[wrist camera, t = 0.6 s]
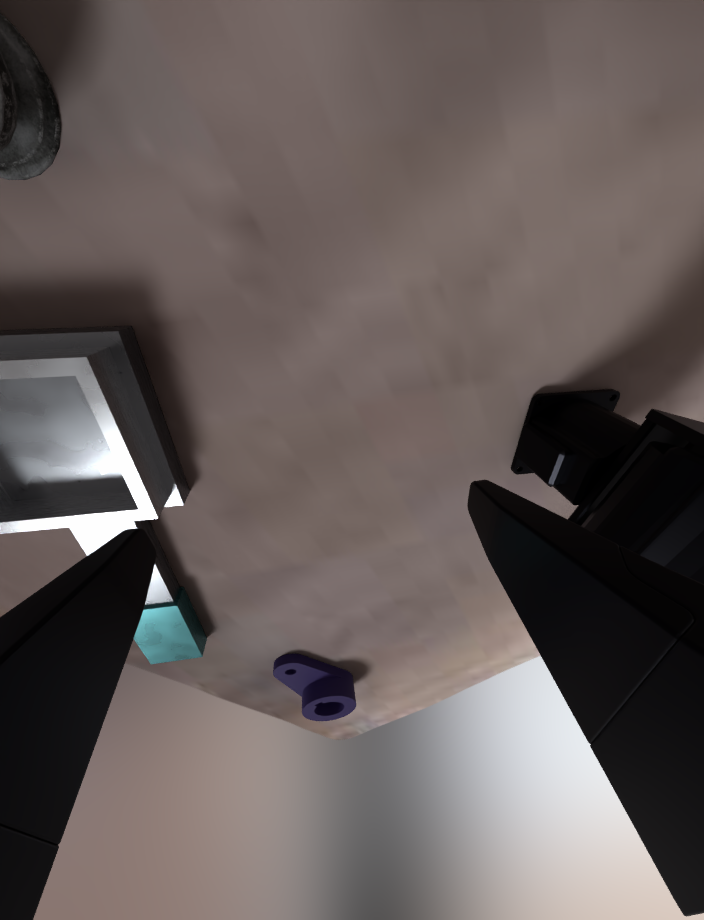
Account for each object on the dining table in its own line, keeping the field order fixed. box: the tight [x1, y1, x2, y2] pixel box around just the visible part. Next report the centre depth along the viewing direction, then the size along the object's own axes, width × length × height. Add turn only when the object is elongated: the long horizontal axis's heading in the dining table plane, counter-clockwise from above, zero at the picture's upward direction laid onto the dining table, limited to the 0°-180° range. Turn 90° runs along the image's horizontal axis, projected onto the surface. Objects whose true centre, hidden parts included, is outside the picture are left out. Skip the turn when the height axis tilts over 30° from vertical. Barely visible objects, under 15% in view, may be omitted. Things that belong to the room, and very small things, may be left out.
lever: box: [273, 654, 356, 721], centre depth 38 cm, size 12×6×3 cm, turn 35°
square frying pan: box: [0, 326, 207, 664], centre depth 23 cm, size 11×29×4 cm, turn 1°
